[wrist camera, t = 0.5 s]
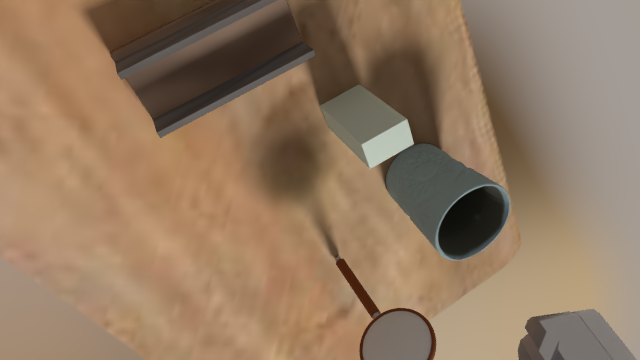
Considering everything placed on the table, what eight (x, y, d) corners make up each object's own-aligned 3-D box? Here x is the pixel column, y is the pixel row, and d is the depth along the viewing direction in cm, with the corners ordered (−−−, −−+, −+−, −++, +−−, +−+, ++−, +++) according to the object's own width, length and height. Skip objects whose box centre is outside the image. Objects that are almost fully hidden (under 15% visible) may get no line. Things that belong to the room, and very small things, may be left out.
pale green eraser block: (319, 105, 53) (361, 144, 45) (359, 84, 54) (407, 118, 46) (328, 127, 55) (370, 168, 47) (366, 106, 56) (413, 143, 48)
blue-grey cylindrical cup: (393, 136, 59) (452, 184, 50) (459, 137, 64) (525, 182, 54) (372, 208, 64) (423, 265, 54) (435, 205, 68) (493, 257, 59)
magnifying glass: (360, 234, 65) (449, 347, 49) (365, 241, 66) (454, 355, 50) (307, 273, 65) (380, 400, 49) (314, 280, 66) (387, 406, 50)
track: (110, 52, 43) (112, 66, 39) (272, -29, 45) (286, -22, 41) (158, 126, 47) (164, 143, 44) (303, 50, 49) (318, 61, 46)
